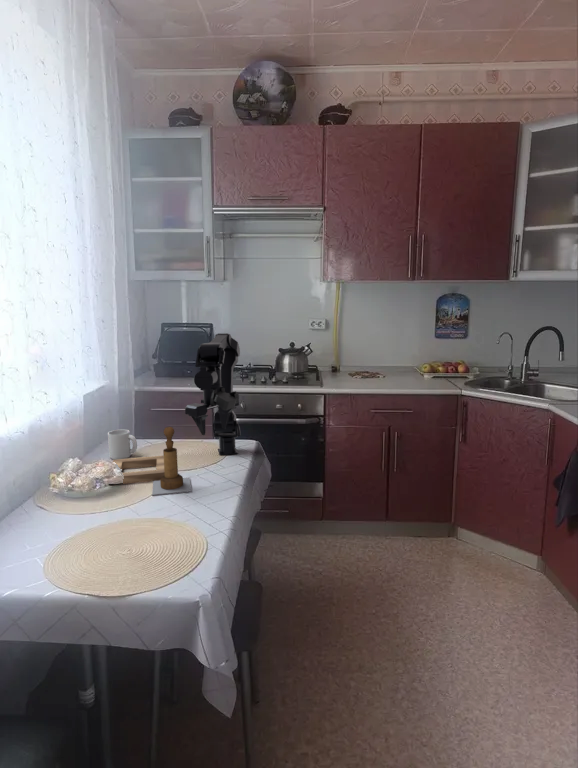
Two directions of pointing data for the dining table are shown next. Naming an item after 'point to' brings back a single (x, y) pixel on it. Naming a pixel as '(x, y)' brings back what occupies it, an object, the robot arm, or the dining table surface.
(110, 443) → the cup
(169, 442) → the wooden pepper mill
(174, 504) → the dining table surface
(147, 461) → the walnut holder
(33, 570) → the dining table surface
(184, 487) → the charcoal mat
